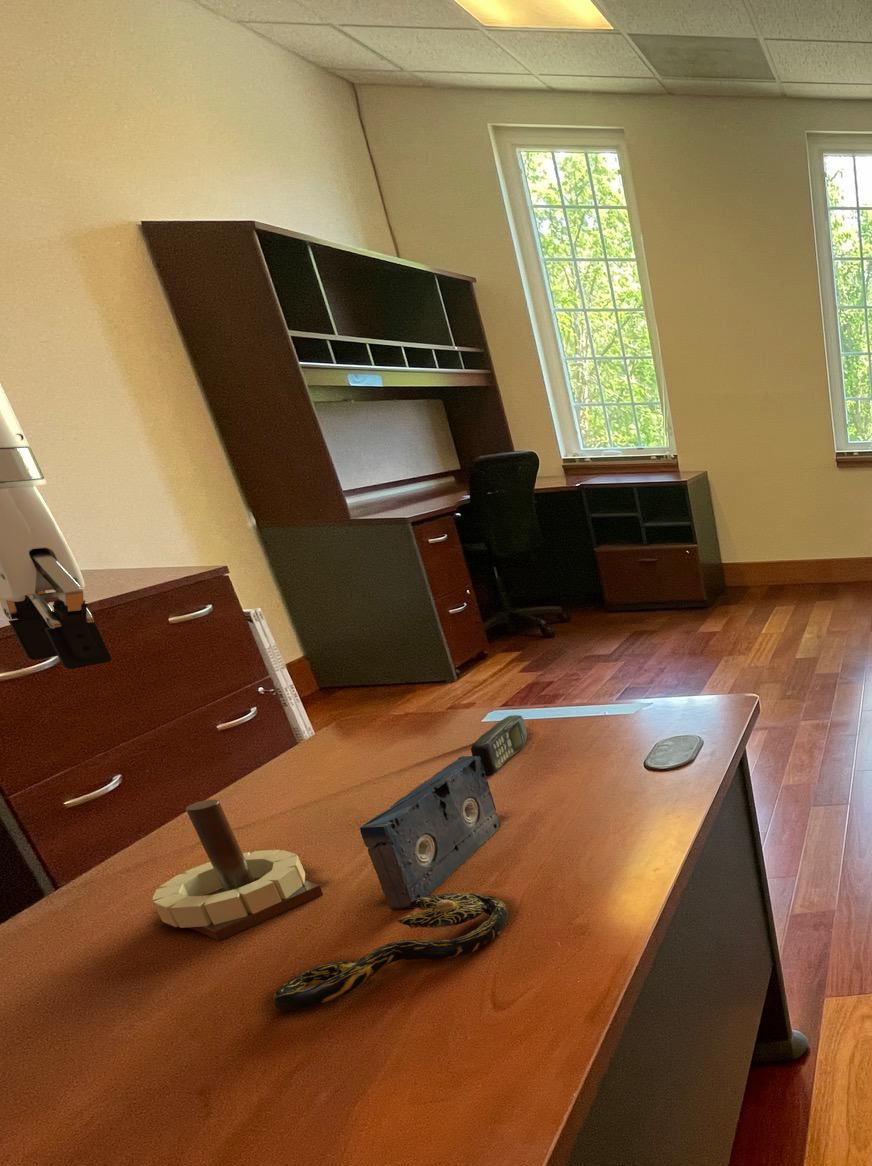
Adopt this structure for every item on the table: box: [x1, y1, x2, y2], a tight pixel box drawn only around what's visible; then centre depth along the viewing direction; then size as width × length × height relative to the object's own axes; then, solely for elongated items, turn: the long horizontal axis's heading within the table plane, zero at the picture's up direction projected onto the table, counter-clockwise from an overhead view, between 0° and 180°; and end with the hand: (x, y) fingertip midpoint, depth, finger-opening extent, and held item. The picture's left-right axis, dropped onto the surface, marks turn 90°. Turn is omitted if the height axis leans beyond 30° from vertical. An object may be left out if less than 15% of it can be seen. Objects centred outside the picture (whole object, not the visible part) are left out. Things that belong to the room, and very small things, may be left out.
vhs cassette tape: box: [359, 755, 502, 910], centre depth 89 cm, size 18×3×10 cm, turn 4°
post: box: [185, 799, 324, 942], centre depth 81 cm, size 9×9×12 cm
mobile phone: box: [470, 714, 528, 775], centre depth 119 cm, size 5×3×15 cm
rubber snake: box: [273, 892, 509, 1011], centre depth 75 cm, size 18×5×10 cm
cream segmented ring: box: [151, 849, 306, 929], centre depth 82 cm, size 11×11×2 cm
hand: (70, 659), depth 78 cm, fingers open, 6 cm apart
